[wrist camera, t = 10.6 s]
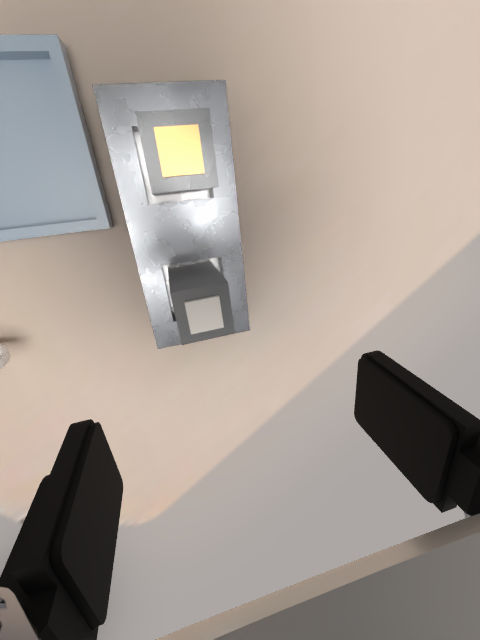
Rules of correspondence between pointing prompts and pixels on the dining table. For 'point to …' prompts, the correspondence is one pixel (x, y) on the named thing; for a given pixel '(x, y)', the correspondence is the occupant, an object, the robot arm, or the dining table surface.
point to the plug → (200, 302)
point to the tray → (44, 145)
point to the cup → (4, 356)
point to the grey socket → (175, 187)
